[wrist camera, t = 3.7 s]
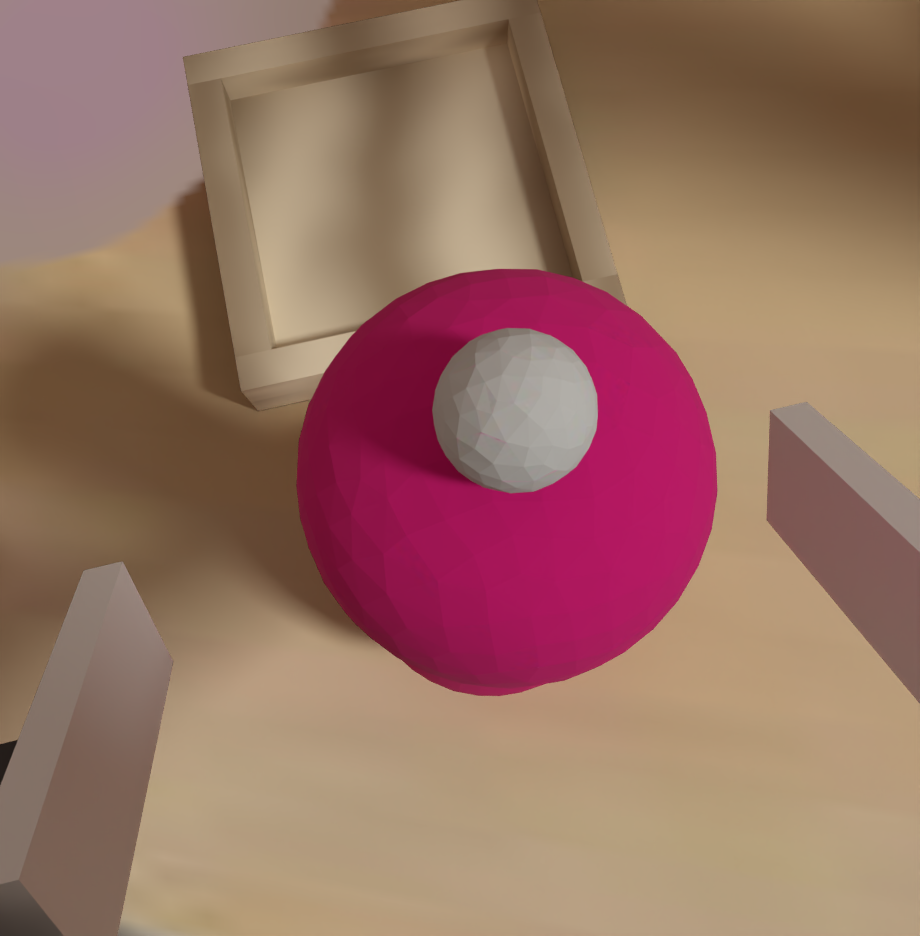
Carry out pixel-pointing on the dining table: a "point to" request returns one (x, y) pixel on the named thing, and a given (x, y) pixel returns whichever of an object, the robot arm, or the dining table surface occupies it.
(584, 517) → the pepper mill
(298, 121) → the tray
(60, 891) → the robot arm
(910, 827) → the dining table surface
